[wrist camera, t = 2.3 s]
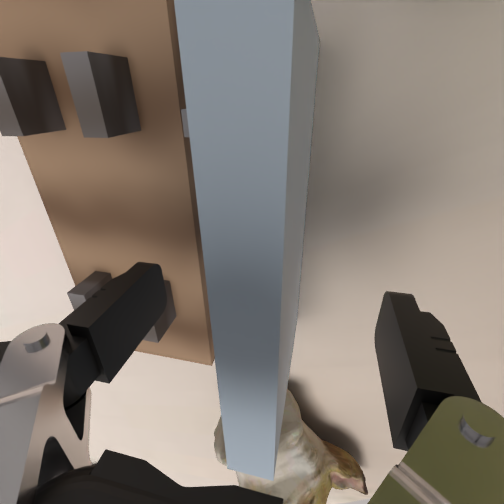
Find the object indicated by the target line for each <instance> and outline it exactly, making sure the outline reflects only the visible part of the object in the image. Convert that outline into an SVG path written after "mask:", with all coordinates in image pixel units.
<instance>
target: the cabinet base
mask: <svg viewBox="0 0 504 504" xmlns="http://www.w3.org/2000/svg"><path fill="white" fill-rule="evenodd" d="M181 109H186V101H185V93H184V84H183V75H182V66H181V58H180V49H179V40H178V31H177V23H176V14H175V5H174V0H0V131H1V134H2V136H17V137H18V139H19V142H20V144H21V147H22V149H23V152H24V155H25V157H26V160H27V162H28V165H29V167H30V170H31V173H32V175H33V178H34V180H35V183H36V185H37V188H38V191H39V193H40V196H41V198H42V201H43V203H44V206H45V209H46V211H47V214H48V216H49V219H50V221H51V224H52V227H53V229H54V232H55V234H56V237H57V239H58V242H59V245H60V247H61V250H62V252H63V255H64V257H65V260H66V263H67V265H68V268H69V270H70V273H71V275H72V278H73V281H74V283H75V287H74V288H73V289H71V290H70V291H69V292H68V293H67V294H68V296H69V299H70V301H71V303H72V306H73V308H74V310H75V309H77V308H78V307H79V306H80V305H81V304H83V303H84V302H85V301H86V300H87V299H88V298H90V297H92V295H93V294H94V293H96V292H97V291H98V290H100V289H101V287H103V286H104V285H105V284H106V283H107V282H109V281H110V280H111V279H113V278H115V277H117V276H119V275H121V274H123V273H125V272H127V271H128V270H129V269H130V268H131V267H132V266H133V265H135V264H136V263H137V262H146V263H155V264H159V265H160V266H161V269H162V274H163V279H164V284H165V289H166V294H167V304H166V308H165V310H164V312H163V314H162V315H161V316H160V318H159V319H158V320H157V322H156V323H155V324H154V326H153V327H152V328H151V330H150V331H149V332H148V333H147V335H146V336H145V337H144V339H143V340H142V341H141V343H140V344H139V345H138V347H137V348H136V349H135V351H138V352H144V353H149V354H154V355H159V356H164V357H170V358H175V359H180V360H185V361H190V362H195V363H201V364H206V365H211V366H212V364H213V361H214V359H215V355H214V346H213V338H212V329H211V320H210V311H209V303H208V294H207V285H206V276H205V268H204V259H203V250H202V241H201V233H200V224H199V215H198V206H197V198H196V189H195V180H194V171H193V163H192V154H191V145H190V137H184V130H183V122H182V113H181Z"/></svg>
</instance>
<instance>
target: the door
mask: <svg viewBox="0 0 504 504" xmlns="http://www.w3.org/2000/svg"><path fill="white" fill-rule="evenodd" d="M174 5H175V14H176V23H177V31H178V40H179V49H180V58H181V66H182V75H183V84H184V93H185V101H186V109H181V113H182V122H183V130H184V137H190V145H191V154H192V163H193V171H194V180H195V189H196V198H197V206H198V215H199V224H200V233H201V241H202V250H203V259H204V268H205V276H206V285H207V294H208V303H209V311H210V320H211V329H212V338H213V346H214V355H215V364H216V373H217V381H218V390H219V399H220V408H221V416H222V425H223V434H224V443H225V451H226V460H227V469H231V470H234V471H238V472H242V473H245V474H249V475H253V476H257V477H260V478H264V479H268V480H271V481H274V474H275V467H276V461H277V454H278V447H279V440H280V433H281V426H282V420H283V413H284V406H285V399H286V392H287V385H288V379H289V372H290V365H291V358H292V351H293V344H294V338H295V331H296V324H297V315H298V303H299V291H300V278H301V266H302V254H303V241H304V229H305V217H306V204H307V192H308V179H309V167H310V155H311V142H312V130H313V118H314V105H315V93H316V81H317V68H318V56H319V43H320V39H319V35H318V30H317V26H316V22H315V17H314V13H313V9H312V4H311V0H174Z"/></svg>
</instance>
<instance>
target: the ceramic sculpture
mask: <svg viewBox="0 0 504 504" xmlns="http://www.w3.org/2000/svg"><path fill="white" fill-rule="evenodd" d="M214 436H215V442H214V448H215V453H216V457H217V460H218V461H219V462H220V463H222V464H223V465H225V466H227V460H226V451H225V443H224V434H223V425H222V416H221V417H220V420H219V422H218V425H217V428H216V429H215V432H214ZM236 474H237V478H238V482H239V486H240V487H243V488H247V489H251V490H254V491H258V492H261V493H265V494H269V495H272V496H276V497H279V498H283V504H326V501H327V498H328V495H329V492H330V490H331V488H332V487H333V488H335V489H341V490H343V489H348V488H352V489H355V490H357V491H359V492H361V493H363V494H365V495H368V491H367V487H366V483H365V477H364V474H363V471H362V470H361V468H360V466H359V464H358V463H357V462H356V460H355V459H354V458H353V457H352V456H351V455H350V454H349V453H348V452H346V451H345V450H343V449H341V448H339V447H337V446H335V445H333V444H331V443H329V442H327V441H323V440H321V439H320V438H319V437H318V436H317V435H316V434H315V433H314V432H313V431H312V430H311V429H310V428H309V427H308V426H307V425H306V424H305V423H304V422H303V421H302V420H301V414H300V409H299V406H298V404H297V402H296V401H295V399H294V397H293V395H292V393H291V392H290V391H289V390H288V389H287V392H286V399H285V406H284V413H283V420H282V426H281V433H280V440H279V447H278V454H277V461H276V467H275V474H274V481H271V480H268V479H264V478H260V477H257V476H253V475H249V474H245V473H242V472H238V471H236Z"/></svg>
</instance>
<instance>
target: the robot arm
mask: <svg viewBox="0 0 504 504" xmlns="http://www.w3.org/2000/svg"><path fill="white" fill-rule="evenodd" d="M166 304H167V294H166V289H165V284H164V279H163V274H162V269H161V266H160V265H159V264H155V263H146V262H137V263H136V264H135V265H133V266H132V267H131V268H130V269H129V270H128V271H127V272H125V273H123V274H121V275H119V276H117V277H115V278H113V279H111V280H110V281H109V282H107V283H106V284H105V285H104V286H103V287H101V289H100V290H98V291H97V292H96V293H94V294H93V295H92V297H90V298H88V299H87V300H86V301H85V302H84V303H83V304H81V305H80V306H79V307H78V308H77V309H75V310H74V311H73V312H72V313H71V314H70V315H68V316H67V317H66V318H65V319H64V320H62V321H61V322H60V323H59V324H55V323H49V324H42V325H39V326H35V327H33V328H30V329H28V330H26V331H24V332H23V333H21V334H20V335H18V336H17V337H16V338H14V339H13V340H12V341H7V342H0V504H283V498H279V497H276V496H272V495H269V494H265V493H261V492H258V491H254V490H251V489H247V488H243V487H240V486H236V485H229V486H206V487H183V486H181V485H179V484H177V483H176V482H175V481H173V480H172V479H170V478H169V477H168V476H166V475H165V474H163V473H162V472H161V471H159V470H158V469H156V468H155V467H154V466H152V465H151V464H149V463H148V462H147V461H145V460H142V459H139V458H135V457H131V456H128V455H124V454H120V453H117V452H113V451H110V450H105V451H104V453H103V455H102V456H101V458H100V459H99V461H98V462H97V464H94V465H92V464H91V460H90V455H89V431H90V411H91V390H90V386H91V384H92V383H93V382H94V381H95V380H96V381H100V382H105V383H110V382H111V381H112V379H113V378H114V377H115V376H116V374H117V373H118V372H119V370H120V369H121V368H122V366H123V365H124V364H125V362H126V361H127V360H128V358H129V357H130V356H131V355H132V353H133V352H134V351H135V349H136V348H137V347H138V345H139V344H140V343H141V341H142V340H143V339H144V337H145V336H146V335H147V333H148V332H149V331H150V330H151V328H152V327H153V326H154V324H155V323H156V322H157V320H158V319H159V318H160V316H161V315H162V314H163V312H164V310H165V308H166ZM375 349H376V354H377V360H378V365H379V371H380V376H381V382H382V387H383V393H384V398H385V404H386V409H387V415H388V420H389V426H390V431H391V437H392V442H393V448H396V449H401V450H405V451H408V452H407V454H406V455H405V457H404V458H403V459H402V461H401V462H400V464H399V465H395V466H394V467H393V468H392V470H391V471H390V472H389V473H388V475H387V476H386V478H385V479H384V481H383V482H382V484H381V485H380V486H379V488H378V489H377V491H376V492H375V494H374V495H373V497H372V498H371V499H370V501H369V502H368V504H504V418H503V417H502V416H501V415H500V414H498V413H497V412H496V411H495V410H493V409H492V408H490V407H489V406H487V405H485V404H483V403H482V402H481V400H480V398H479V396H478V394H477V392H476V390H475V388H474V386H473V384H472V382H471V380H470V378H469V376H468V374H467V372H466V370H465V368H464V366H463V364H462V362H461V360H460V358H459V356H458V354H456V349H455V347H454V345H453V343H452V342H450V337H449V335H448V333H447V331H446V329H445V327H444V325H443V324H442V323H441V322H440V321H438V320H437V319H436V318H435V317H434V316H433V315H432V314H431V313H429V312H421V311H420V310H419V308H418V305H417V303H416V301H415V298H414V296H413V295H412V294H405V293H397V292H388V291H386V292H385V294H384V297H383V301H382V305H381V309H380V313H379V317H378V321H377V324H376V329H375Z"/></svg>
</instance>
